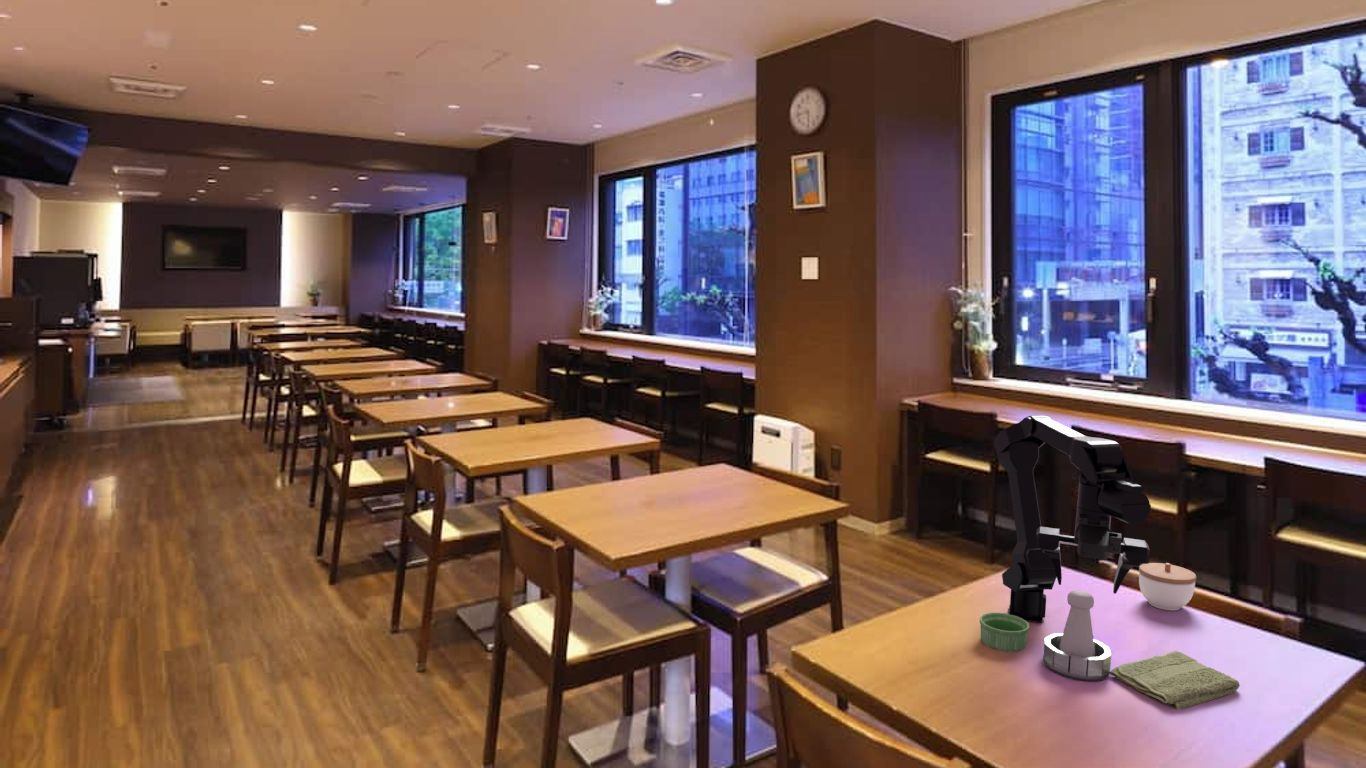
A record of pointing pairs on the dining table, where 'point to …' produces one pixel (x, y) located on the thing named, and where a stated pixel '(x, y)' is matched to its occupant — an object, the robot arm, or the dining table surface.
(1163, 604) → the lidded jar
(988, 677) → the dining table surface
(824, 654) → the dining table surface
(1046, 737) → the dining table surface
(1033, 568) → the robot arm
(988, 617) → the ramekin
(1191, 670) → the washcloth
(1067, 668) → the faceted metal bowl
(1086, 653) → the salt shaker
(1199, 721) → the dining table surface
